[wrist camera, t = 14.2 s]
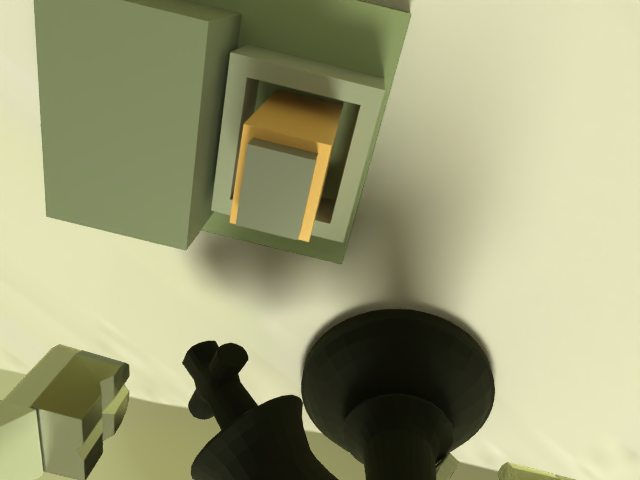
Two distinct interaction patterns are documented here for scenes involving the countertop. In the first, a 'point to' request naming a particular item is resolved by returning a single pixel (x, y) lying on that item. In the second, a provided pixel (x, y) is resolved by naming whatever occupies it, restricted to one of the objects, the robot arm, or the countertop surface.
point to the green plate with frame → (202, 107)
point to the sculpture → (349, 402)
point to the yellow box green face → (284, 164)
